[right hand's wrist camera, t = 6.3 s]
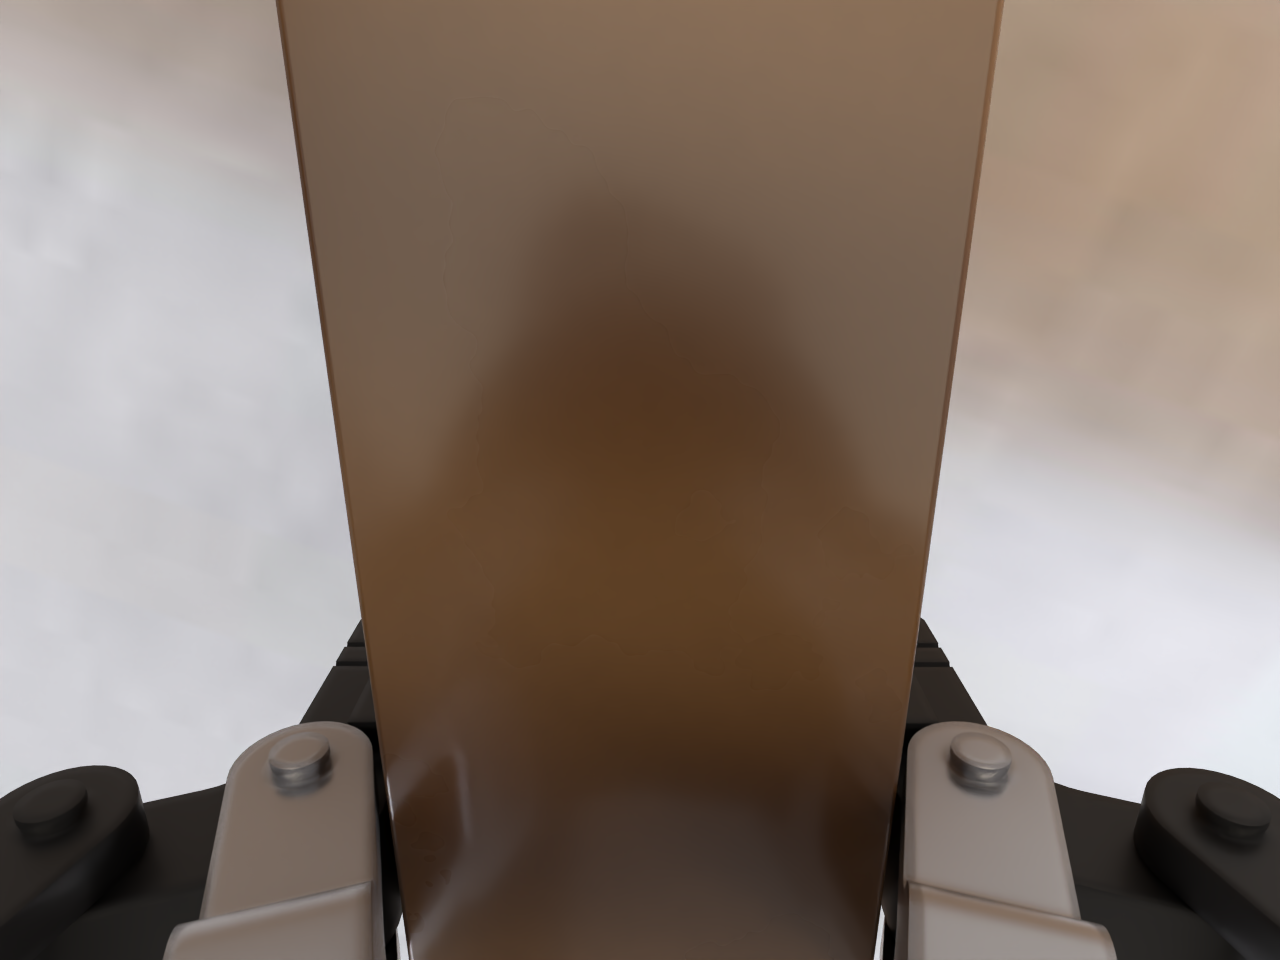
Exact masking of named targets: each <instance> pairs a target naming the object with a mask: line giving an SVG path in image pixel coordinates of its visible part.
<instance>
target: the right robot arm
mask: <svg viewBox="0 0 1280 960" xmlns="http://www.w3.org/2000/svg"><path fill="white" fill-rule="evenodd" d="M881 905H882V908H883V912H884V915H885V918H884V925H883V932H882V939H881V947H880V960H1280V799H1279V798H1277V797H1276V796H1274V795H1273V794H1271V793H1269V792H1267V791H1265V790H1263V789H1262V788H1260V787H1258V786H1255V785H1253V784H1251V783H1249V782H1246V781H1244V780H1241V779H1239V778H1236V777H1233V776H1230V775H1226V774H1223V773H1219V772H1215V771H1210V770H1205V769H1196V768H1175V769H1169V770H1165V771H1162V772H1159V773H1157V774H1156V775H1154V776H1153V777H1152V778H1151V779H1150V780H1149V781H1148V782H1147V785H1146V787H1145V791H1144V794H1143V798H1142V802H1141V804H1139V803H1134V802H1130V801H1125V800H1121V799H1116V798H1111V797H1107V796H1102V795H1098V794H1093V793H1089V792H1084V791H1080V790H1076V789H1072V788H1069V787H1066V786H1063V785H1060V784H1057V783H1055V782H1054V780H1053V776H1052V773H1051V770H1050V769H1049V767H1048V765H1047V764H1046V762H1045V761H1044V760H1043V758H1042V757H1041V756H1040V755H1039V754H1038V753H1037V752H1036V751H1035V750H1034V749H1032V748H1031V747H1030V746H1029V745H1027V744H1026V743H1024V742H1023V741H1021V740H1020V739H1018V738H1016V737H1014V736H1012V735H1010V734H1008V733H1006V732H1003V731H1001V730H999V729H996V728H992V727H989V726H987V724H986V722H985V721H984V719H983V717H982V716H981V714H980V712H979V711H978V709H977V707H976V706H975V704H974V702H973V701H972V699H971V697H970V696H969V694H968V692H967V691H966V689H965V687H964V686H963V684H962V682H961V681H960V679H959V677H958V676H957V674H956V672H955V671H954V669H953V667H950V665H949V661H948V659H947V657H946V655H945V654H944V652H943V650H942V649H941V648H938V642H937V640H936V639H935V637H934V635H933V634H932V632H931V630H930V629H929V627H928V625H927V624H926V622H925V620H923V619H922V618H921V617H920V623H919V631H918V638H917V645H916V653H915V660H914V667H913V675H912V682H911V689H910V697H909V704H908V711H907V719H906V726H905V733H904V741H903V748H902V755H901V763H900V770H899V777H898V785H897V792H896V800H895V807H894V814H893V822H892V829H891V836H890V844H889V851H888V858H887V866H886V873H885V880H884V888H883V895H882V902H881ZM401 915H402V905H401V898H400V891H399V884H398V876H397V869H396V862H395V855H394V848H393V840H392V833H391V826H390V819H389V812H388V805H387V797H386V790H385V783H384V776H383V769H382V761H381V754H380V747H379V740H378V733H377V726H376V718H375V711H374V704H373V697H372V690H371V682H370V675H369V668H368V661H367V654H366V646H365V639H364V632H363V625H362V619H361V620H360V622H359V624H358V625H357V627H356V629H355V630H354V632H353V634H352V635H351V637H350V639H349V640H348V642H347V647H344V649H343V651H342V652H341V654H340V656H339V657H338V659H337V661H336V666H333V668H332V669H331V671H330V673H329V674H328V676H327V678H326V679H325V681H324V683H323V685H322V686H321V688H320V690H319V691H318V693H317V695H316V696H315V698H314V700H313V702H312V703H311V705H310V707H309V708H308V710H307V712H306V713H305V715H304V717H303V718H302V720H301V722H300V724H299V725H294V726H291V727H288V728H285V729H281V730H279V731H277V732H274V733H272V734H270V735H268V736H266V737H264V738H262V739H260V740H259V741H257V742H256V743H254V744H253V745H251V746H250V747H249V748H248V749H247V750H245V751H244V752H243V753H242V754H241V755H240V756H239V757H238V758H237V760H236V761H235V762H234V764H233V765H232V767H231V769H230V771H229V774H228V777H227V781H226V784H223V785H220V786H217V787H213V788H209V789H206V790H201V791H197V792H192V793H188V794H183V795H178V796H174V797H169V798H165V799H160V800H155V801H151V802H146V803H143V802H142V799H141V795H140V791H139V787H138V784H137V782H136V779H135V778H134V777H133V776H132V775H131V774H130V773H128V772H127V771H125V770H122V769H119V768H117V767H111V766H96V765H93V766H82V767H76V768H71V769H66V770H62V771H59V772H55V773H52V774H49V775H46V776H44V777H41V778H38V779H36V780H34V781H31V782H29V783H27V784H25V785H23V786H21V787H19V788H17V789H15V790H13V791H12V792H10V793H8V794H7V795H5V796H4V797H2V798H1V799H0V960H400V946H399V938H398V931H397V927H398V924H399V921H400V918H401Z"/></svg>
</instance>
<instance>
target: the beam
mask: <svg viewBox="0 0 1280 960" xmlns="http://www.w3.org/2000/svg"><path fill="white" fill-rule="evenodd" d="M276 7H277V14H278V21H279V29H280V36H281V43H282V50H283V57H284V65H285V72H286V79H287V86H288V93H289V100H290V108H291V115H292V122H293V129H294V136H295V144H296V151H297V158H298V165H299V172H300V179H301V187H302V194H303V201H304V208H305V215H306V223H307V230H308V237H309V244H310V251H311V259H312V266H313V273H314V280H315V287H316V294H317V302H318V309H319V316H320V323H321V330H322V338H323V345H324V352H325V359H326V366H327V373H328V381H329V388H330V395H331V402H332V409H333V417H334V424H335V431H336V438H337V445H338V453H339V460H340V467H341V474H342V481H343V488H344V496H345V503H346V510H347V517H348V524H349V532H350V539H351V546H352V553H353V560H354V567H355V575H356V582H357V589H358V596H359V603H360V611H361V618H362V625H363V632H364V639H365V646H366V654H367V661H368V668H369V675H370V682H371V690H372V697H373V704H374V711H375V718H376V726H377V733H378V740H379V747H380V754H381V761H382V769H383V776H384V783H385V790H386V797H387V805H388V812H389V819H390V826H391V833H392V840H393V848H394V855H395V862H396V869H397V876H398V884H399V891H400V898H401V905H402V912H403V920H404V927H405V934H406V941H407V948H408V955H409V960H874V954H875V946H876V939H877V932H878V924H879V917H880V910H881V902H882V895H883V888H884V880H885V873H886V866H887V858H888V851H889V844H890V836H891V829H892V822H893V814H894V807H895V800H896V792H897V785H898V777H899V770H900V763H901V755H902V748H903V741H904V733H905V726H906V719H907V711H908V704H909V697H910V689H911V682H912V675H913V667H914V660H915V653H916V645H917V638H918V631H919V623H920V616H921V609H922V601H923V594H924V587H925V579H926V572H927V565H928V557H929V550H930V543H931V535H932V528H933V521H934V513H935V506H936V499H937V491H938V484H939V477H940V469H941V462H942V455H943V447H944V440H945V432H946V425H947V418H948V410H949V403H950V396H951V388H952V381H953V374H954V366H955V359H956V352H957V344H958V337H959V330H960V322H961V315H962V308H963V300H964V293H965V286H966V278H967V271H968V264H969V256H970V249H971V242H972V234H973V227H974V220H975V212H976V205H977V198H978V190H979V183H980V176H981V168H982V161H983V154H984V146H985V139H986V132H987V124H988V117H989V109H990V102H991V95H992V87H993V80H994V73H995V65H996V58H997V51H998V43H999V36H1000V29H1001V21H1002V14H1003V7H1004V0H276Z"/></svg>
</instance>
